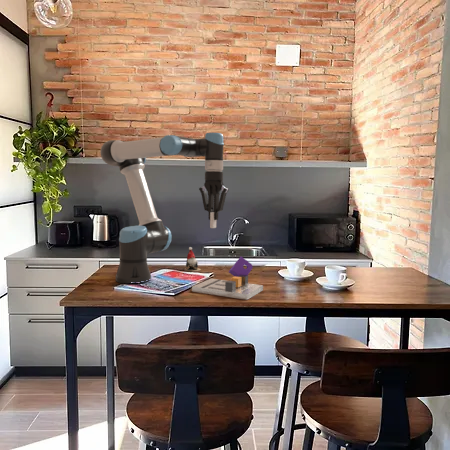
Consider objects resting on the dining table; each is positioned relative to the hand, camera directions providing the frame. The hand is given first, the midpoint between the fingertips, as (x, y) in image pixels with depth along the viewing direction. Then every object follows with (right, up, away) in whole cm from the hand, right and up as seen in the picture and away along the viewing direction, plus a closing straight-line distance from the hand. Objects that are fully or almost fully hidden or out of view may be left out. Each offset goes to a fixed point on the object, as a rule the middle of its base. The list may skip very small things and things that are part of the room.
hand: (213, 227), depth 179 cm
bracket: (+10, -21, +4) cm, 23 cm away
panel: (+6, -25, -7) cm, 27 cm away
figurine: (-11, -21, +32) cm, 40 cm away
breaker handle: (+9, -23, -9) cm, 26 cm away
